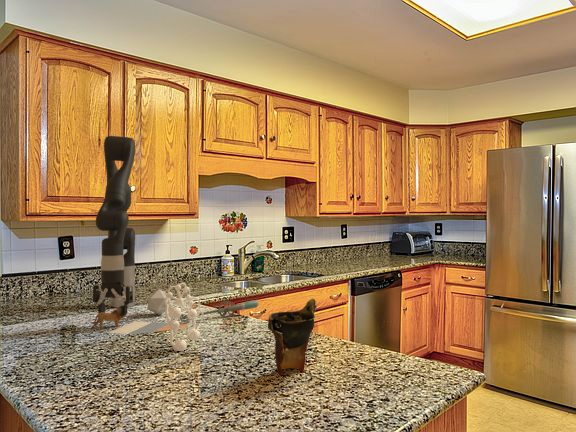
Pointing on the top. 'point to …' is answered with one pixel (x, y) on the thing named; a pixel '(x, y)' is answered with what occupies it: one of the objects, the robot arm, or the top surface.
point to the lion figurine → (109, 317)
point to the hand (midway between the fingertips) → (112, 315)
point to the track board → (142, 327)
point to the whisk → (228, 308)
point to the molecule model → (176, 313)
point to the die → (157, 302)
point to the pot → (292, 336)
